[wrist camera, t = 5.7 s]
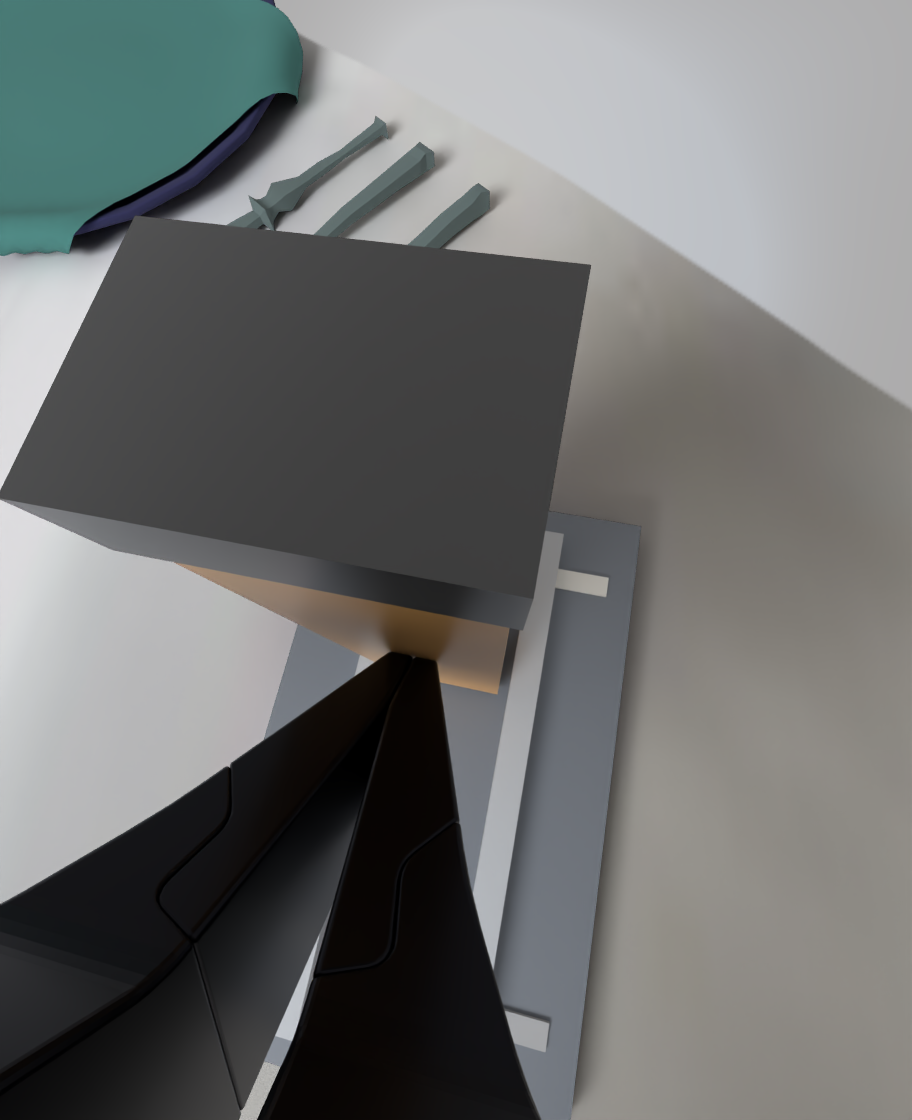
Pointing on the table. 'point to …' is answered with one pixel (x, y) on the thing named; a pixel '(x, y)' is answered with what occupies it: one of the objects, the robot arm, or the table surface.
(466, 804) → the board
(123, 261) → the tan wooden bar
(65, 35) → the cutlery set
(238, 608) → the table surface
